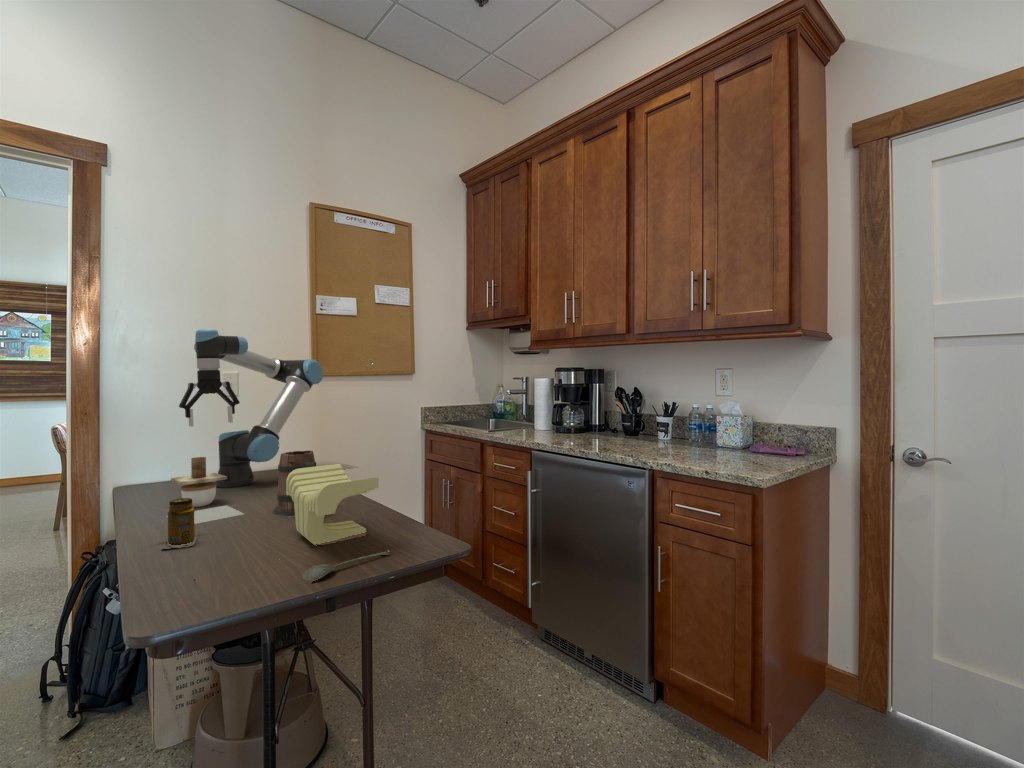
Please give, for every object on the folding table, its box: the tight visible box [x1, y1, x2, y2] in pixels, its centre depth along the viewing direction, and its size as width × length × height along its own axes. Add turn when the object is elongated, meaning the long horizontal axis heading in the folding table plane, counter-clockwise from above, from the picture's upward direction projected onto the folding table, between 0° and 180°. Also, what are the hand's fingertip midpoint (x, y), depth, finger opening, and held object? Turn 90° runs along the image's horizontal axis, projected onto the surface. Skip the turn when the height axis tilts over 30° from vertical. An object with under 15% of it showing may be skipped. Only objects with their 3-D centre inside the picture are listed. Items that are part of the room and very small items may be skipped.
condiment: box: [167, 497, 196, 545], centre depth 132 cm, size 7×8×12 cm
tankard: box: [272, 450, 317, 516], centre depth 163 cm, size 24×17×20 cm
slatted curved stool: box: [286, 463, 380, 546], centre depth 137 cm, size 30×16×18 cm, turn 38°
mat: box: [165, 505, 245, 525], centre depth 160 cm, size 18×18×1 cm
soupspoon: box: [301, 549, 391, 581], centre depth 114 cm, size 22×3×7 cm
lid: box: [170, 456, 227, 486], centre depth 174 cm, size 14×14×8 cm
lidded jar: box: [180, 481, 217, 508], centre depth 174 cm, size 11×11×9 cm
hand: (211, 424), depth 188 cm, fingers open, 13 cm apart
